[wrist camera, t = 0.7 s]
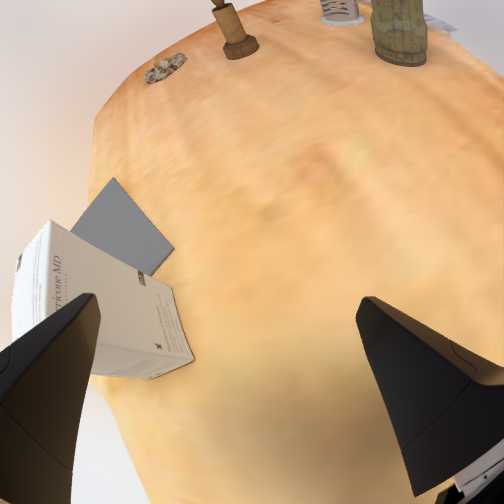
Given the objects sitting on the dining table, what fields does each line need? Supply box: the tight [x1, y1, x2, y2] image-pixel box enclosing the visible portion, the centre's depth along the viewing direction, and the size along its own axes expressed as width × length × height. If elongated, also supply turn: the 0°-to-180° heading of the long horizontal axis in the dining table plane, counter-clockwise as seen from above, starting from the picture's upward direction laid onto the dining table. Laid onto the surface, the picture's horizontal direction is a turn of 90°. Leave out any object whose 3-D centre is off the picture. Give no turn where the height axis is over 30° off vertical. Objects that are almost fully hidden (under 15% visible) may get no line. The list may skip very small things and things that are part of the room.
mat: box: [70, 177, 174, 277], centre depth 33 cm, size 20×14×1 cm
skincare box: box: [11, 220, 194, 380], centre depth 19 cm, size 8×6×15 cm
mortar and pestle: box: [211, 0, 259, 59], centre depth 35 cm, size 7×6×18 cm
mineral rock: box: [143, 53, 186, 84], centre depth 50 cm, size 11×4×8 cm
